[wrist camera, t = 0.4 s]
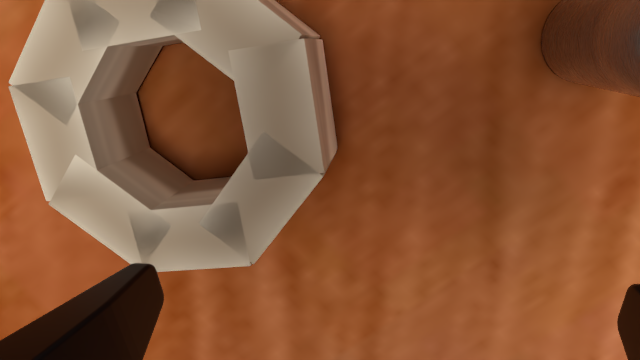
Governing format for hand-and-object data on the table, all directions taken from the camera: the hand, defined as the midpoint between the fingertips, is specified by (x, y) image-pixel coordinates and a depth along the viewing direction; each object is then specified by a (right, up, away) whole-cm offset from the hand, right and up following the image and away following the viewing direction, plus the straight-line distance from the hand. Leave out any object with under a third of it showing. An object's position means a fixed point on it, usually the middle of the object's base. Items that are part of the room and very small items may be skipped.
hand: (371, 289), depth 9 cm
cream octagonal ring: (-7, +6, +14) cm, 17 cm away
